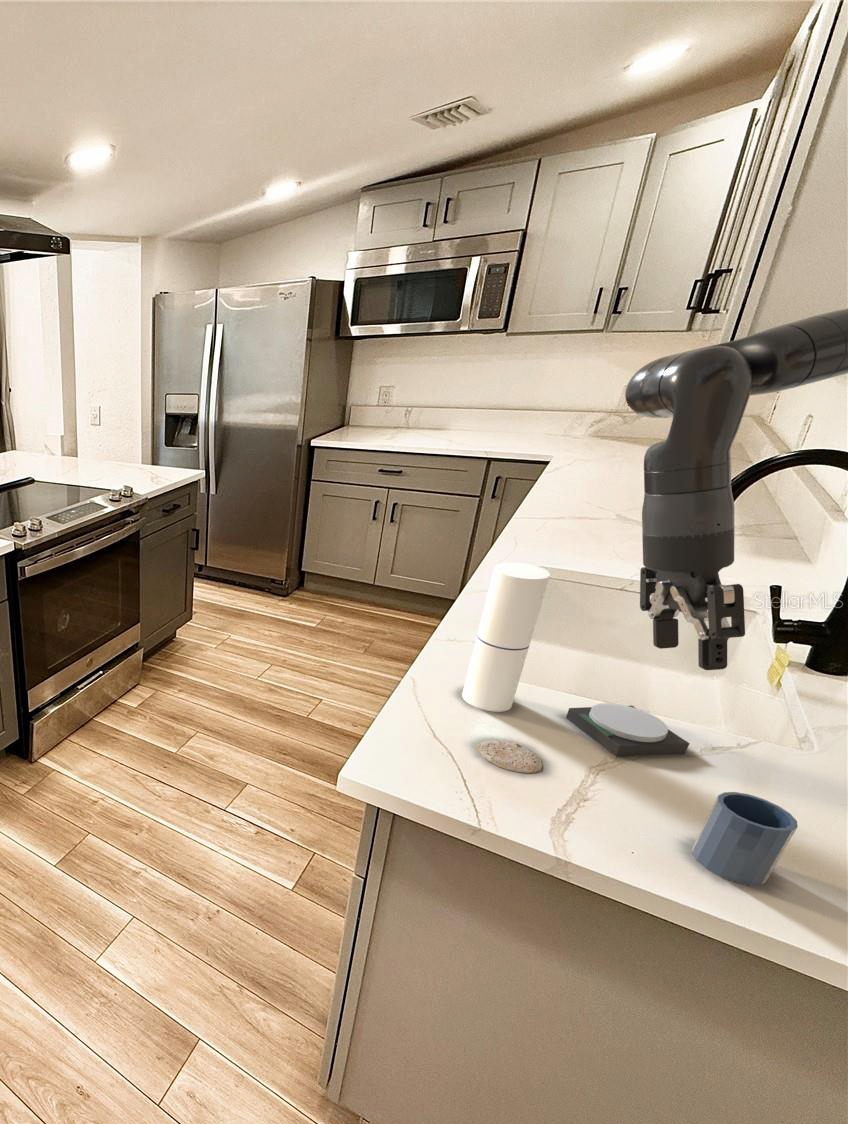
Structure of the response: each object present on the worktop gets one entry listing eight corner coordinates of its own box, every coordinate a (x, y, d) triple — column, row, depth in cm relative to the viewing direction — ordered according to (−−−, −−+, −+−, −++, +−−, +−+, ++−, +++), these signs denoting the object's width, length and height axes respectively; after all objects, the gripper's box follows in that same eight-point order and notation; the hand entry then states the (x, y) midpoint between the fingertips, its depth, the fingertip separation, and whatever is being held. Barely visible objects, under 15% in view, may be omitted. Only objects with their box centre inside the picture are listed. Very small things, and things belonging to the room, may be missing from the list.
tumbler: (727, 847, 76) (756, 790, 73) (780, 888, 71) (815, 830, 67) (675, 848, 77) (702, 792, 73) (724, 890, 71) (756, 831, 67)
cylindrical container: (455, 703, 107) (488, 571, 97) (469, 687, 111) (501, 559, 101) (503, 719, 102) (543, 582, 92) (516, 702, 106) (555, 569, 96)
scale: (626, 718, 101) (634, 700, 99) (683, 757, 91) (692, 737, 90) (564, 721, 101) (570, 702, 100) (614, 760, 92) (622, 740, 90)
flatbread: (539, 752, 94) (541, 747, 94) (543, 782, 88) (545, 776, 88) (476, 737, 98) (477, 732, 98) (476, 764, 93) (477, 759, 92)
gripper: (777, 529, 64) (775, 674, 67) (686, 515, 77) (688, 638, 80) (686, 540, 67) (687, 680, 69) (613, 525, 80) (617, 643, 83)
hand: (687, 657), depth 75 cm, fingers open, 8 cm apart
